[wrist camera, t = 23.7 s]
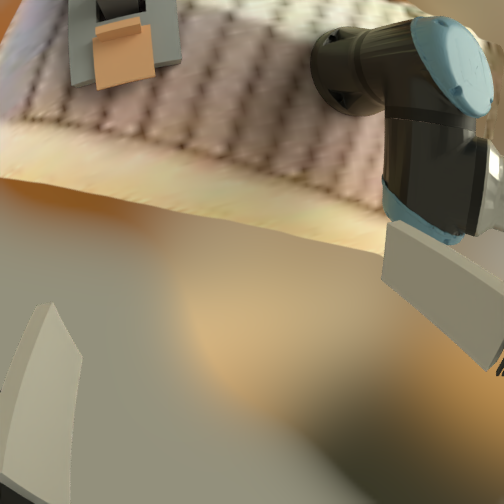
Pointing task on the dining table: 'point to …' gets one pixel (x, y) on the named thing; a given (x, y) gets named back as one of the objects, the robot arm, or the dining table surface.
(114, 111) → the dining table surface
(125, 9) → the plug
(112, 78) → the tan plate with tab
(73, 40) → the socket
